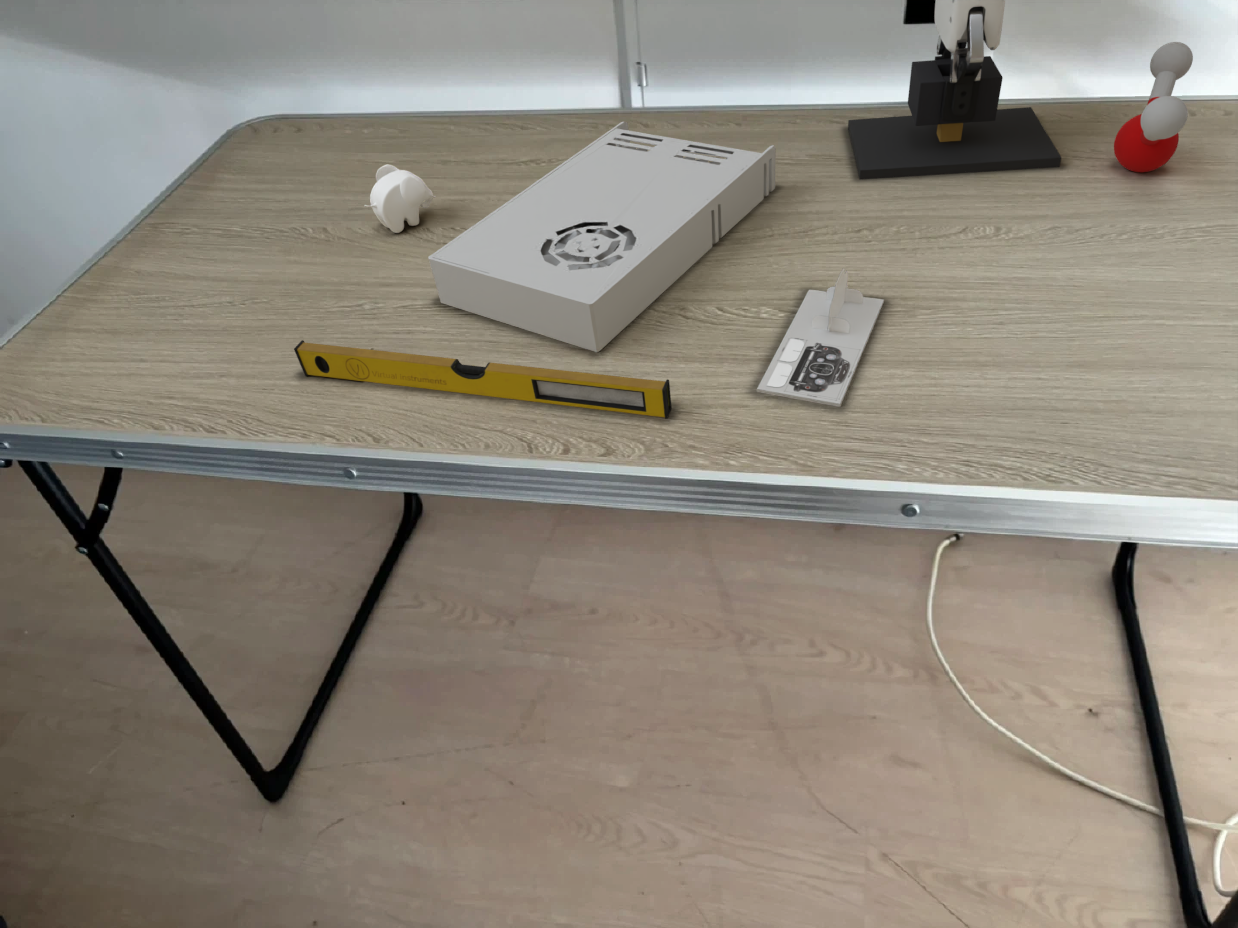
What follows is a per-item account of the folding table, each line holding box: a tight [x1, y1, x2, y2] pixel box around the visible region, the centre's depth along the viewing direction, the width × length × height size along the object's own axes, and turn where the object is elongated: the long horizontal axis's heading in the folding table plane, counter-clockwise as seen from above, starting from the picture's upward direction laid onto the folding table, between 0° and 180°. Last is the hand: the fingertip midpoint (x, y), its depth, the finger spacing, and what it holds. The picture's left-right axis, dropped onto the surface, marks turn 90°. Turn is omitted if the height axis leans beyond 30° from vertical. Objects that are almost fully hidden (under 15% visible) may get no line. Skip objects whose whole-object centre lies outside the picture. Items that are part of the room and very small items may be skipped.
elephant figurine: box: [364, 163, 437, 234], centre depth 100 cm, size 7×8×6 cm
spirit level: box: [293, 339, 673, 420], centre depth 76 cm, size 33×1×3 cm, turn 72°
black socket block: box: [907, 55, 1004, 126], centre depth 97 cm, size 8×6×4 cm
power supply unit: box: [427, 121, 777, 353], centre depth 92 cm, size 19×33×5 cm, turn 146°
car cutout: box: [756, 267, 885, 408], centre depth 75 cm, size 15×7×4 cm, turn 156°
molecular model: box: [1113, 41, 1194, 173], centre depth 90 cm, size 18×6×10 cm, turn 154°
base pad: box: [847, 106, 1062, 181], centre depth 100 cm, size 20×13×4 cm, turn 85°
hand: (951, 104), depth 98 cm, fingers closed on black socket block, 6 cm apart
